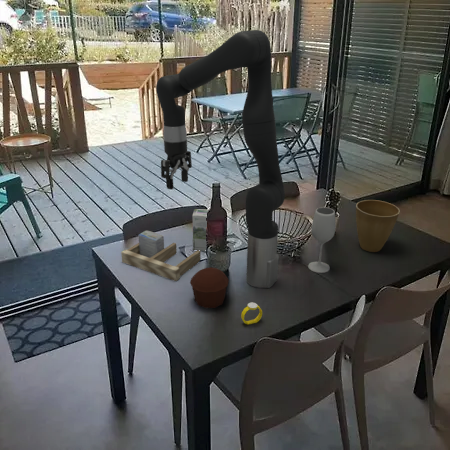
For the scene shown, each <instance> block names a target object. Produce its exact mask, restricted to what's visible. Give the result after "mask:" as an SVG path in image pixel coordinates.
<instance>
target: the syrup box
mask: <svg viewBox="0 0 450 450" xmlns="http://www.w3.org/2000/svg"><path fill="white" fill-rule="evenodd" d="M208 210H209V209H202V208H201V209H200V208H199V209H197V208H194V209H193V213H192V251H193V250H200V251H205V250H206V227H207V221H206V218H207V212H208Z"/></svg>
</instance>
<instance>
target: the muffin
mask: <svg viewBox="0 0 450 450" xmlns="http://www.w3.org/2000/svg"><path fill="white" fill-rule="evenodd" d="M229 281H230V280H229V278H228V276H227V275H226V274H225V272H224V271H222V270H221V269H220V268H217V267H209V266H208V267H204V268H201V269H200V270H198V271H196V273H195V274H194V275H193V276H192V277H191V279H190V282H189V283H190V286H191V287H192V294H193V297H194V298H193V299H194V301H195V302H196V304H197V306H198V307H202V308H205V309H212V308H213V309H216V308H218V307H219V306H222V305H223V303H224V301H225V299H226V292H227V287H228V285H229Z"/></svg>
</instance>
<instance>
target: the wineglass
mask: <svg viewBox="0 0 450 450" xmlns="http://www.w3.org/2000/svg"><path fill="white" fill-rule="evenodd" d="M310 231H311V235H312V237H313V238H314V240H316V241H317V242H318V243H319V253H318V254H319V256H318V261H311V262H310V263H309V264H308V266H307V267H308V269H309V270H310V271H311V272H312V273H313V272H314V273H318V274H324V273H328V272H330V270H331V269H330V265H329V264H327V263H326V262H323V261H322V254H323V253H322V252H323V246H324V244H325V243H327V242H329V241H330V240H332V239H333V238H334V236H335V233H336V212H335V210H334V209H333V208H330V207H326V206H320V207H318V208H316V209H315V212H314V214H313V220H312V223H311V229H310Z"/></svg>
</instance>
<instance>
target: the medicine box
mask: <svg viewBox="0 0 450 450" xmlns="http://www.w3.org/2000/svg"><path fill="white" fill-rule="evenodd" d="M137 236H138V243H139V249H140V255H143V256H146V257H149V258H151V257H152V256H154V255H155V254H157V253H159V252H160V251H162V250H163V249H165V238H164V235H163V234H159V233H156V232H155V231H154V232H153V231H150V230H144V231H143V232H141V233H139V234H138V235H137Z"/></svg>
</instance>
